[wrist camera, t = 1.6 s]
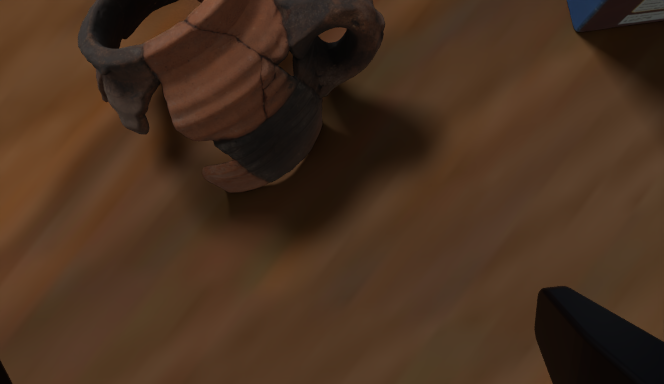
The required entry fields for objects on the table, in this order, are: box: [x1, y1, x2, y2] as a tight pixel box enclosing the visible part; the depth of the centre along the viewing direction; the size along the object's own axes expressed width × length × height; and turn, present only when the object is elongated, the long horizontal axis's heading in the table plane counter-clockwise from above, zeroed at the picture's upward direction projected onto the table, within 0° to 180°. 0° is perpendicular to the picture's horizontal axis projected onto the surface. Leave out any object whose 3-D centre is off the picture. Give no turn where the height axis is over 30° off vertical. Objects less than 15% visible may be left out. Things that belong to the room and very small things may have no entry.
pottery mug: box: [78, 0, 385, 193], centre depth 23 cm, size 12×10×8 cm
